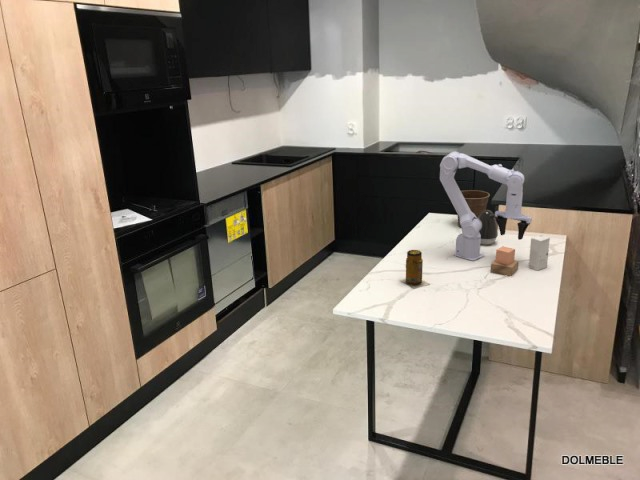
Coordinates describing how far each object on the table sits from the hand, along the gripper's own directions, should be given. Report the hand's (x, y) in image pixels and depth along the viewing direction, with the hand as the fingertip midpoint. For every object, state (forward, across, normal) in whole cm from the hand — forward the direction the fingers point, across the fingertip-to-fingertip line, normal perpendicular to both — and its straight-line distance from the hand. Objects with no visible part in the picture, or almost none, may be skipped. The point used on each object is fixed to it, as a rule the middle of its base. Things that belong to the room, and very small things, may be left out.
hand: (511, 236), depth 200 cm
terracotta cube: (+7, +4, -10) cm, 12 cm away
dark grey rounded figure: (+11, -19, +12) cm, 25 cm away
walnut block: (+11, +4, -10) cm, 15 cm away
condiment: (+10, -13, -42) cm, 45 cm away
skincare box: (+11, +11, +2) cm, 15 cm away
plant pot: (+10, -38, +28) cm, 48 cm away
